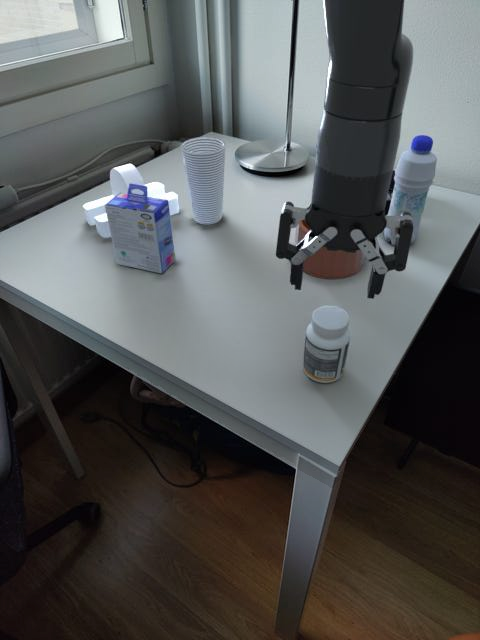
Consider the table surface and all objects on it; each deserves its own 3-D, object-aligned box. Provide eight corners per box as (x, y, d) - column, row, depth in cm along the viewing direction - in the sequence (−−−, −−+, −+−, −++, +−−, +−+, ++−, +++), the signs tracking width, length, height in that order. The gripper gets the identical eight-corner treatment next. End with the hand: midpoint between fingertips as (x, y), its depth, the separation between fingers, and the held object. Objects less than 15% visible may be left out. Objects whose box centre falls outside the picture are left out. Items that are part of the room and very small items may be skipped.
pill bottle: (319, 349, 68) (326, 296, 61) (351, 369, 65) (362, 316, 58) (294, 369, 65) (298, 316, 58) (326, 392, 62) (335, 338, 55)
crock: (363, 244, 89) (370, 206, 84) (362, 282, 80) (370, 243, 75) (298, 238, 91) (301, 200, 86) (290, 274, 82) (293, 235, 77)
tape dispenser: (85, 220, 98) (72, 171, 91) (159, 195, 106) (152, 149, 99) (104, 239, 92) (91, 188, 85) (181, 211, 100) (175, 163, 93)
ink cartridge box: (177, 258, 87) (168, 185, 77) (163, 275, 83) (152, 200, 73) (131, 249, 89) (116, 178, 80) (116, 264, 85) (99, 191, 76)
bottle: (388, 227, 94) (411, 126, 80) (421, 237, 91) (450, 134, 77) (375, 242, 90) (396, 138, 76) (409, 253, 87) (437, 146, 73)
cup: (204, 232, 93) (198, 157, 83) (180, 217, 98) (171, 144, 88) (236, 218, 98) (234, 145, 87) (211, 204, 102) (206, 133, 92)
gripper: (276, 168, 43) (270, 302, 54) (436, 179, 41) (396, 317, 52) (286, 139, 49) (279, 266, 59) (427, 148, 46) (393, 278, 57)
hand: (334, 290), depth 55 cm, fingers open, 8 cm apart
